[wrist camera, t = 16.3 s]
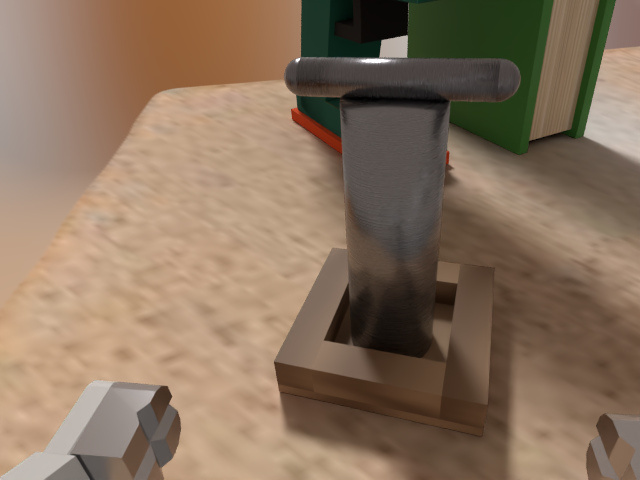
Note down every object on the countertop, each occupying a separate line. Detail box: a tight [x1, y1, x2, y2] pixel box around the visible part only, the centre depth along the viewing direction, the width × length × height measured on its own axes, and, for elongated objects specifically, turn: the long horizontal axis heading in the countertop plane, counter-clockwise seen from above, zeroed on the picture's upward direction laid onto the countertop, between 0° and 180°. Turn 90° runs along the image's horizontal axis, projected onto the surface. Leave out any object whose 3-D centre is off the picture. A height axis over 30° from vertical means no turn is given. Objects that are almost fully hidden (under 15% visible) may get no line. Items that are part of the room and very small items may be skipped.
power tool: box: [291, 0, 449, 164], centre depth 37 cm, size 32×7×20 cm, turn 26°
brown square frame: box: [274, 248, 494, 436], centre depth 24 cm, size 9×9×2 cm
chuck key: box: [284, 57, 521, 358], centre depth 21 cm, size 8×4×13 cm, turn 72°
